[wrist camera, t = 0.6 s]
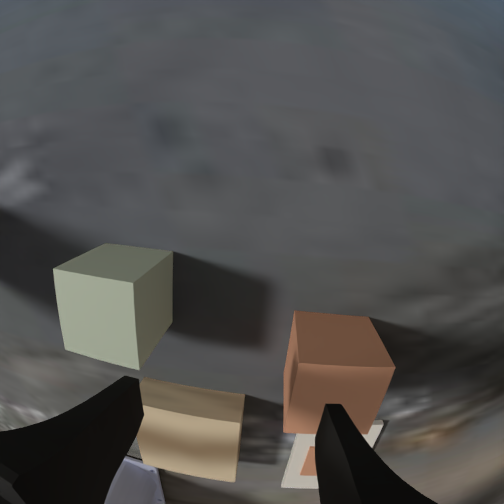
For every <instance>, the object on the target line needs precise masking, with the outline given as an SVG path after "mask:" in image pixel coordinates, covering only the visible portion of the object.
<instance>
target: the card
mask: <svg viewBox="0 0 504 504" xmlns="http://www.w3.org/2000/svg"><path fill="white" fill-rule="evenodd" d="M383 425H384V424H383V421H382V420H374V422H373V424H372V426H371V428H370V430H369V433H368V434H362V436H363V437H364V438H365V440H366V441H367V442H368V444H369V445H370V446H371V448H372V447H373V445H374V443H375V441H376V439H377V437H378V435H379V433H380V431H381V429H382V427H383ZM315 436H316V434H299V433H296V437H295V440H294V444H293V447H292V451H291V454H290V457H289V460H288V464H287V467H286V470H285V473H284V476H283V479H282V483H281V487H283V488H313V489H319V488H318V480H317V472H316V465H315Z"/></svg>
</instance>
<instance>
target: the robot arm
mask: <svg viewBox="0 0 504 504" xmlns="http://www.w3.org/2000/svg"><path fill="white" fill-rule="evenodd" d="M143 417H144V410H143V404H142V398H141V392H140V385H139V379H137V378H133V377H128V376H124V377H122V378H120V379H119V380H117V381H116V382H114V383H113V384H111V385H110V386H108V387H107V388H105V389H104V390H102V391H101V392H99V393H98V394H96V395H95V396H93V397H91V398H90V399H88V400H87V401H85V402H83V403H81V404H79V405H78V406H76V407H74V408H72V409H70V410H69V411H67V412H65V413H62V414H60V415H58V416H56V417H53V418H51V419H48V420H46V421H43V422H40V423H37V424H33V425H30V426H27V427H23V428H18V429H14V430H8V431H1V432H0V504H165V503H166V502H165V498H164V494H163V490H162V486H161V481H160V477H159V472H158V468H157V467H153V466H149V465H146V464H143V461H141V460H137V459H134V458H131V457H128V456H126V454H127V453H128V451H129V449H130V447H131V445H132V443H133V441H134V440H135V438H136V436H137V434H138V431H139V428H140V426H141V423H142V420H143ZM315 465H316V472H317V480H318V488H319V495H320V503H321V504H438V503H436V502H434V501H432V500H431V499H429V498H427V497H426V496H424V495H423V494H421V493H420V492H418V491H417V490H415V489H414V488H413V487H411V486H410V485H409V484H407V483H406V482H405V481H403V480H402V479H401V478H400V477H399V476H398V475H396V474H395V473H394V472H393V471H392V470H391V469H390V468H389V467H388V466H387V465H386V464H385V463H384V462H383V460H382V459H381V458H380V457H379V456H378V455H377V454H376V452H375V451H374V450H373V449H372V448H371V446H370V445H369V444H368V442H367V441H366V440H365V438H364V437H363V436H362V434H361V433H360V431H359V430H358V429H357V427H356V426H355V424H354V423H353V421H352V420H351V418H350V417H349V415H348V413H347V412H346V410H345V409H344V407H343V406H342V404H326V403H325V407H324V410H323V413H322V417H321V420H320V423H319V427H318V430H317V433H316V436H315Z"/></svg>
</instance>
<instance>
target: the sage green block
mask: <svg viewBox="0 0 504 504" xmlns="http://www.w3.org/2000/svg"><path fill="white" fill-rule="evenodd" d="M53 273H54V283H55V291H56V298H57V305H58V312H59V318H60V324H61V330H62V335H63V340H64V345H65V349H66V350H69V351H72V352H75V353H78V354H82V355H85V356H88V357H92V358H95V359H99V360H102V361H106V362H109V363H113V364H117V365H121V366H124V367H128V368H132V369H136V370H140V369H141V367H142V366H143V364H144V363H145V361H146V360H147V359H148V357H149V356H150V354H151V353H152V351H153V350H154V348H155V347H156V345H157V344H158V342H159V341H160V339H161V338H162V337H163V335H164V334H165V332H166V331H167V329H168V328H169V326H170V325H171V323H172V322H173V251H167V250H159V249H150V248H142V247H133V246H125V245H117V244H109V243H105V244H103V245H101V246H99V247H96V248H94V249H92V250H90V251H88V252H86V253H84V254H82V255H80V256H78V257H75V258H73V259H71V260H69V261H67V262H65V263H63V264H61V265H59V266H57V267H55V268H53Z"/></svg>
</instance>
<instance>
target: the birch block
mask: <svg viewBox="0 0 504 504" xmlns="http://www.w3.org/2000/svg"><path fill="white" fill-rule="evenodd" d="M140 392H141V398H142V404H143V410H144V417H143V420H142V423H141V426H140V428H139V431H138V434H137V440H138V444H139V448H140V452H141V456H142V460H143V464H146V465H149V466H153V467H157V468H161V469H165V470H169V471H174V472H178V473H183V474H187V475H192V476H198V477H203V478H209V479H215V480H221V481H228V482H235V478H236V472H237V466H238V460H239V453H240V442H241V432H242V422H243V411H244V401H245V394H238V393H230V392H223V391H216V390H210V389H203V388H197V387H191V386H186V385H180V384H175V383H170V382H165V381H160V380H155V379H151V378H146V377H144V378H143V380H142V381H141V383H140Z"/></svg>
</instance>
